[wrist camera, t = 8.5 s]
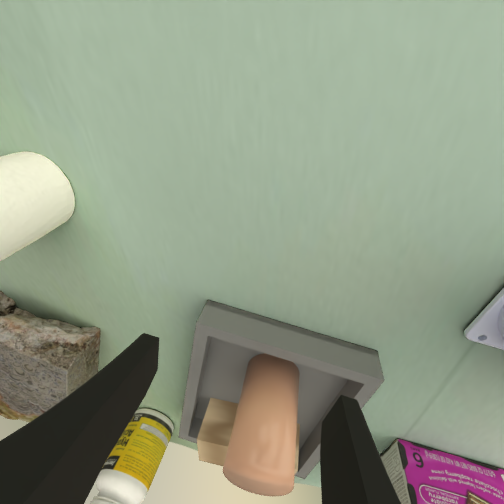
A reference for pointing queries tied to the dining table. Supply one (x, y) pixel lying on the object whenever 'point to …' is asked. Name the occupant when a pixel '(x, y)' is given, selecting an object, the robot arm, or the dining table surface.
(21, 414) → the geological specimen
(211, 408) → the beech block
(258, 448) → the flesh-toned capsule
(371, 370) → the tray
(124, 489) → the supplement bottle
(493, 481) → the candy bar box
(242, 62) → the dining table surface
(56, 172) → the white sack
